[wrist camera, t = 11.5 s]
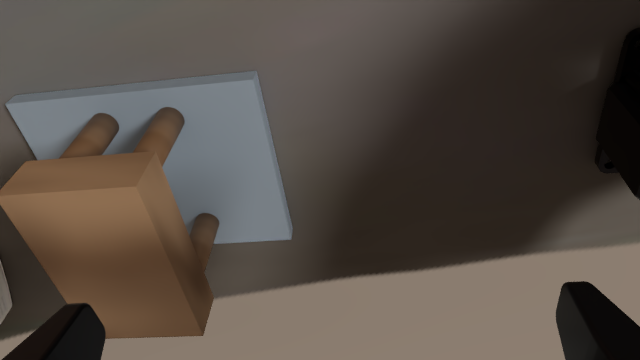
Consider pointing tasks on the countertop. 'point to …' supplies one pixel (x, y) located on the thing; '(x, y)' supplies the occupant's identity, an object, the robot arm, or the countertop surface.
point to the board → (181, 145)
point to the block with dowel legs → (117, 231)
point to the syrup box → (4, 295)
